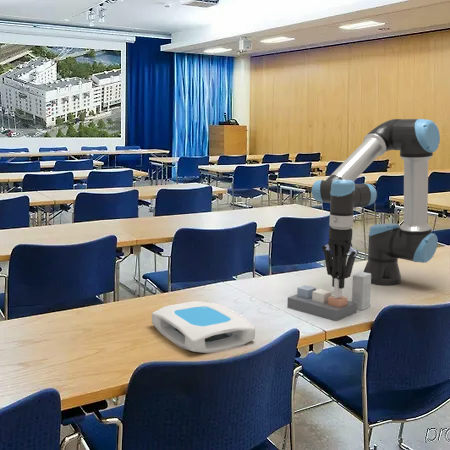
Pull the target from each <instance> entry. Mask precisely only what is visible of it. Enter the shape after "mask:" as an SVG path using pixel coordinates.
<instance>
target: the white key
mask: <svg viewBox="0 0 450 450" xmlns="http://www.w3.org/2000/svg"><path fill="white" fill-rule="evenodd" d="M331 296H332V291H330V290H328V289H327V290H326V289H323V288H319V289H316V291H313V292H312V301H316V302H320V303H326V302H328V298H329V297H331Z"/></svg>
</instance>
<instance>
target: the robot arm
mask: <svg viewBox="0 0 450 450" xmlns="http://www.w3.org/2000/svg"><path fill="white" fill-rule="evenodd" d="M439 130H440V129H439V127H438V125H437V124H436V122H434V121H433V120H430V119H426V118H425V119H423V118H401V119H400V118H393V119H389V120H387V121H384V122H382V123H381V124H379V125H377V126H376V127H374V128H373V129H371V130H369V132H368V133H367V134H366V135H365V136H364V137H363V141H362V143H361V144H359V146H357V148H356V149H355V150H353V152H352V153H351V154H350V155H349V156H348V157H347V158H346V159H345V160H344V161H343V162H342V163H341V164H340V165H339V166H338V167H337V168H336V169H335V170H334V171H333V172H332V173H331V174H330V175H329V176H328V177H327V178H326V179H325V180H324V179H321V180H320V179H319V180H316V181H314V183H313V185H312V186H311V195H312V197H313V199H314V200H315V201H317V202H321V203H327V204H330V205H329V206H330V208H329V209H330V211H329V226H330V227H329V228H328V238H329V239H328V242H327V244H325V245H322V246H321V249H322V251H323V255H324V261H325V267H326V274H327V275H328V276H331V278H332V280H331V286H332V287H333V296H334V298H340V297H343V289H344V288H345V280H346V279H348V278H350V277H351V275H352V273H353V272H352V271H353V267H354V264H355V261H356V258H357V256H358V254H359V250H357V249H356V250H355V249H354V248H353V243H352V240H353V226H354V209H355V208H363V207H368V206H371V205H372V204H374V203H375V201H376V200H377V195H378V193H377V190H376V188H375V186H373V184H370V183H355V181H356V180H357V179H358V178H359V177H360V176H361V175H362V173H364V171H365V170H366V169H367V168H368V167H370V165H371V164H372V163H373V162H374V161H375V160H376V159H377V158H378V157H381V156H383V155H385V153H386V152H389V151H399V157H400V158H401V160H403V222H402V224H401V225H400V224H399V223H394V222H393V223H380V224H379V223H378V224H373V225H371V226H370V227H369V232H368V249H367V261H366V265H365V266H364V270H363V272H365V273H370V274H371V285H372V284H373V285H381V286H394V285H398V284H401V282H402V275H401V271H400V267H399V263H398V261H399V259H400V260H404V261H405V260H406V261H411V262H414V263H422V264H424V263H426V264H427V263H428V262H429V261H430V260H432V258H433V257H434V255H435V253H436V251H437V248H438V244H439V243H438V240H439V239H438V237H437V235H436V234H435V233H434V232H433V233H432V226H431V225H430V224H429V223H428V210H429V209H428V205H429V204H428V203H429V200H428V198H429V196H428V195H429V160H431V158H432V157H433V156H434V155H433V154H434V153H435V152H436V151H437V150H438V148H439V145H440V143H441V142H440V139H441V136H440V134H441V133H440V131H439Z"/></svg>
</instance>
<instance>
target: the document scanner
mask: <svg viewBox="0 0 450 450" xmlns="http://www.w3.org/2000/svg"><path fill="white" fill-rule="evenodd" d="M151 323H152V325H153V326H154V327H155V329H156V330H157V331H158V332H159V333H160V334H161V335H162V336H163V337H165V338H166V339H168V340H169V341H171V342H172V343H173V344H175V345H176V346H177V347H179V348H180V349H183V350H186V351H190V352H193V353H194V352H195V353H200V354H201V353H203V354H212V353H216V352H217V353H218V352H221V351H225V350H229V349H234V348H239V347H242V346H245V345H246V344H248V343H250V342H251V341H253V340H255V338H256V327H255V326H254V325H253V324H252V323H251V322H250V321H249V320H248V319H247V318H246V317H245V316H243V315H241V314H239V313H238V312H236V311H233V310H232V309H230V308H229V307H226V306H224V305H223V304H220V303H213V302H208V301H200V300H193V301H187V302H182V303H181V302H180V303H175V304H169V305H165V306H163V307H161V308H159V309H157V310H155V311H153V312H152V313H151ZM176 329H177V330H176ZM223 334H225V335H226V336H227V337H224V338H221V339H217V340H212V341H211V340H210V341H206V339H208V338H211V337H212V336H217V335H223Z"/></svg>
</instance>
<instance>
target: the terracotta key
mask: <svg viewBox="0 0 450 450" xmlns="http://www.w3.org/2000/svg"><path fill="white" fill-rule="evenodd" d="M347 300H348V301H349V299H348V297H346V296H342V297H340V298H334V295H331V297H329V298H328V305H331V306H335V307H339V308H341V307H343V306H346V305H347Z"/></svg>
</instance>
